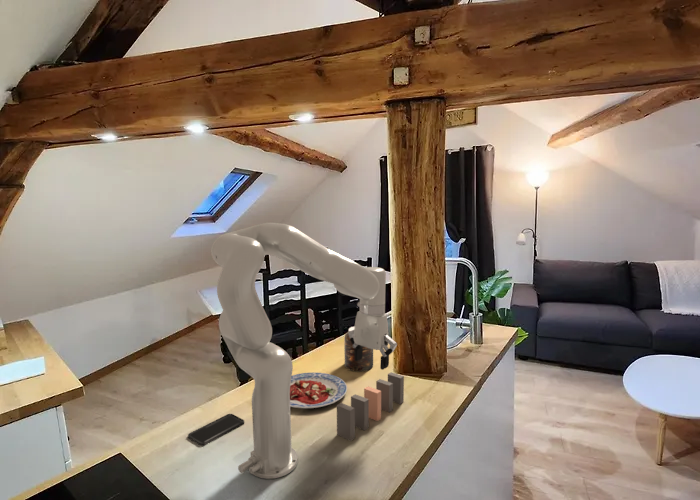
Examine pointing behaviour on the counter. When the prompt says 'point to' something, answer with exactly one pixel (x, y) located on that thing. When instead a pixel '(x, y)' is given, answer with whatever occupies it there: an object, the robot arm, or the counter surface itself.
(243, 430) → the counter surface
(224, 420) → the phone
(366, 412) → the domino
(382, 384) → the domino
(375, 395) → the terracotta domino
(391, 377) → the domino
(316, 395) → the ceramic plate
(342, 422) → the domino
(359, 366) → the jar
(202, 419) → the counter surface
